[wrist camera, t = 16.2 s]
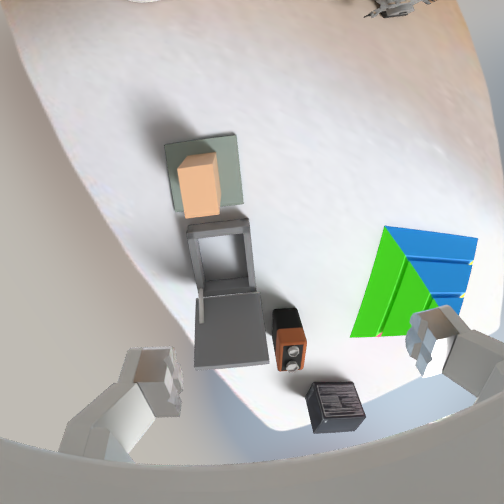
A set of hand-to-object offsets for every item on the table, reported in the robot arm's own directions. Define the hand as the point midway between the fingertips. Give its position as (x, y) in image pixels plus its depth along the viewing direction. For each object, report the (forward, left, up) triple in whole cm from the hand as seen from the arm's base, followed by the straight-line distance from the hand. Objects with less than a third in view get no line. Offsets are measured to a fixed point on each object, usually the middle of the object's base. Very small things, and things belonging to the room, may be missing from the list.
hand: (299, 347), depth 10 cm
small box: (+53, +14, -37) cm, 66 cm away
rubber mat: (+2, -6, -37) cm, 38 cm away
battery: (+30, +4, -37) cm, 48 cm away
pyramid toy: (+27, +31, -38) cm, 56 cm away
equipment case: (+17, -5, -37) cm, 41 cm away
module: (+2, -6, -36) cm, 37 cm away
